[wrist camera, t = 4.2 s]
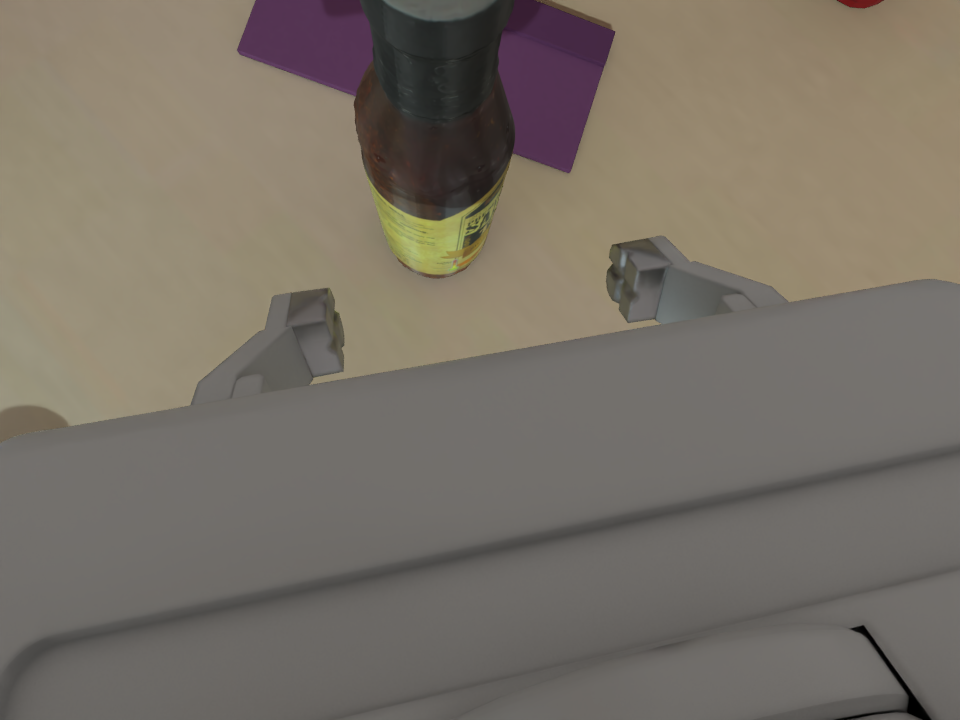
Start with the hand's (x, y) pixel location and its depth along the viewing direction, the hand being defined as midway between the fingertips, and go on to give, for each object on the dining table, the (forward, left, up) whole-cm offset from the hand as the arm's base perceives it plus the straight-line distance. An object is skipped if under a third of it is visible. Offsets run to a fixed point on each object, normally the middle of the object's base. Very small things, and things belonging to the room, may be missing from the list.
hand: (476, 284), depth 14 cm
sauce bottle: (-3, +6, -17) cm, 18 cm away
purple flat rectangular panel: (-7, +18, -17) cm, 25 cm away
